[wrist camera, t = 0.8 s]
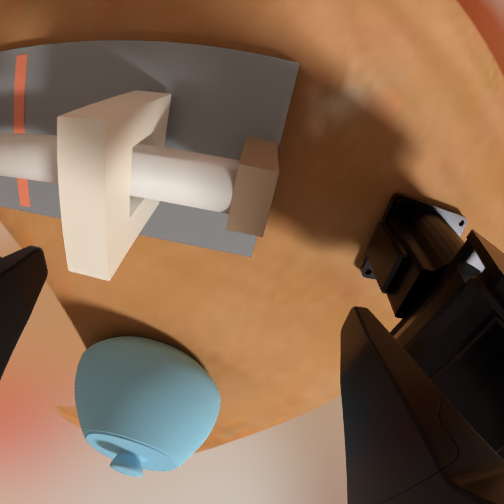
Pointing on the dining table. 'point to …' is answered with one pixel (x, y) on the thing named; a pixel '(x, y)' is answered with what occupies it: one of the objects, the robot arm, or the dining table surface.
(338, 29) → the dining table surface
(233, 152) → the pipe stand
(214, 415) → the sugar bowl
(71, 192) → the collar
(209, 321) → the dining table surface
